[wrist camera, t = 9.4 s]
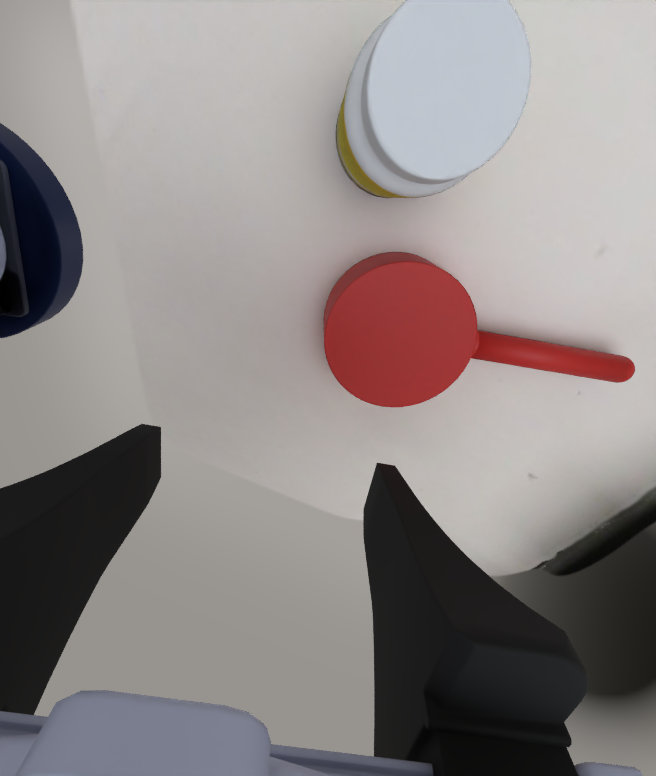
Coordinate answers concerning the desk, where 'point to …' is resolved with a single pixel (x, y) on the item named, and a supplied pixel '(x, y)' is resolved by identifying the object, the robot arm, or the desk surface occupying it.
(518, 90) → the supplement bottle
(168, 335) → the desk surface
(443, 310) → the red handled disc
